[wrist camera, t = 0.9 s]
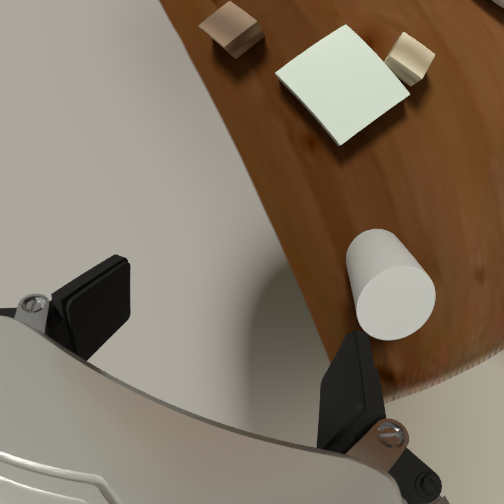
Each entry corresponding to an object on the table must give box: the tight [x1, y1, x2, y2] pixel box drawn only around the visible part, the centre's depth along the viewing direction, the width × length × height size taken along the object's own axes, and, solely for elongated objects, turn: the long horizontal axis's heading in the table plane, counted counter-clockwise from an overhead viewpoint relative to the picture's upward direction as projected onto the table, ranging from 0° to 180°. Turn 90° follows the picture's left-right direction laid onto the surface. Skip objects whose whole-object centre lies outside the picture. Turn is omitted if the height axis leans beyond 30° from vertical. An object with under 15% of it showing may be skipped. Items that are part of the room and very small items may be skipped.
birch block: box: [384, 32, 435, 86], centre depth 22 cm, size 4×4×4 cm
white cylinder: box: [346, 229, 435, 340], centre depth 28 cm, size 8×8×12 cm
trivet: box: [276, 25, 410, 146], centre depth 26 cm, size 11×11×3 cm
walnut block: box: [199, 1, 265, 59], centre depth 25 cm, size 5×5×5 cm
